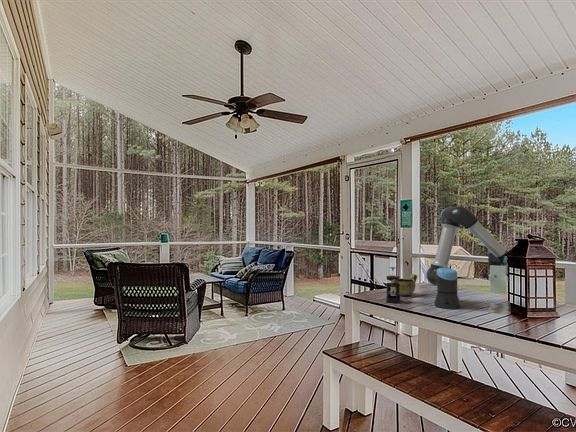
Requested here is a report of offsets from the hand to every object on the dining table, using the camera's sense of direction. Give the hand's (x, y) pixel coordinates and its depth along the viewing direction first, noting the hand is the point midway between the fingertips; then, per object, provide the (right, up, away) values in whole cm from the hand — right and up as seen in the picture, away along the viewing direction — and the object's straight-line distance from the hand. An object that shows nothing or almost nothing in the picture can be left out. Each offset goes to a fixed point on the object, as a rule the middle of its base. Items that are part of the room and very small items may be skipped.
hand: (498, 278), depth 209 cm
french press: (-53, -21, +29) cm, 64 cm away
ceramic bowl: (-39, -21, +51) cm, 68 cm away
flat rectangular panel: (+2, -9, +4) cm, 10 cm away
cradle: (0, -20, -1) cm, 20 cm away
